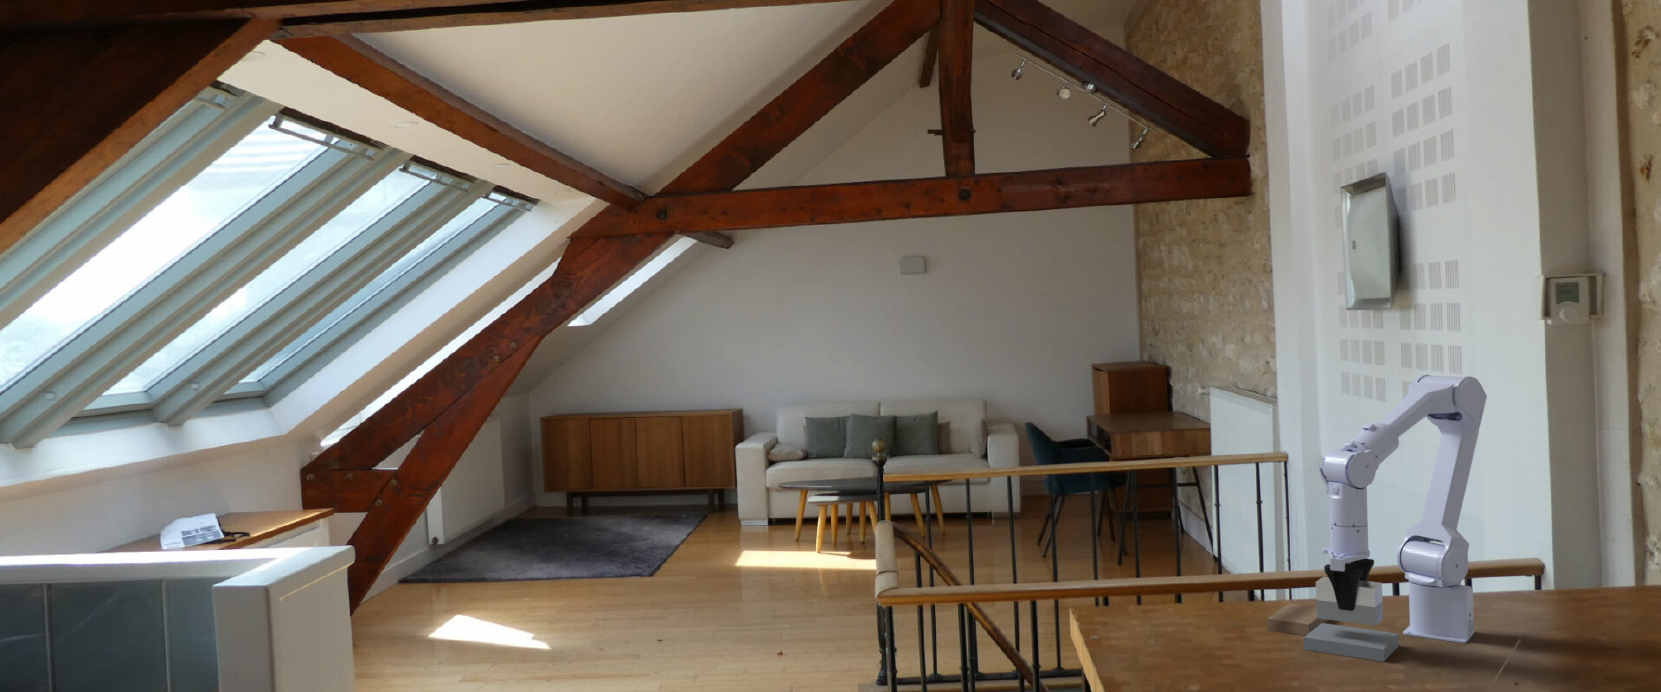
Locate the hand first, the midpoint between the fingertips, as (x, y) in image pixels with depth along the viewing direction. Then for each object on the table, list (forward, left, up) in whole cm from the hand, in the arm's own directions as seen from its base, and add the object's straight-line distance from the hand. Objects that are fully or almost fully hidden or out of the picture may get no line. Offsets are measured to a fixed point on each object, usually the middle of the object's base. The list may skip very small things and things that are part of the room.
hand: (1350, 606), depth 181 cm
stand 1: (+11, -9, -7) cm, 16 cm away
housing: (0, 0, -2) cm, 2 cm away
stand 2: (0, 0, -7) cm, 7 cm away
